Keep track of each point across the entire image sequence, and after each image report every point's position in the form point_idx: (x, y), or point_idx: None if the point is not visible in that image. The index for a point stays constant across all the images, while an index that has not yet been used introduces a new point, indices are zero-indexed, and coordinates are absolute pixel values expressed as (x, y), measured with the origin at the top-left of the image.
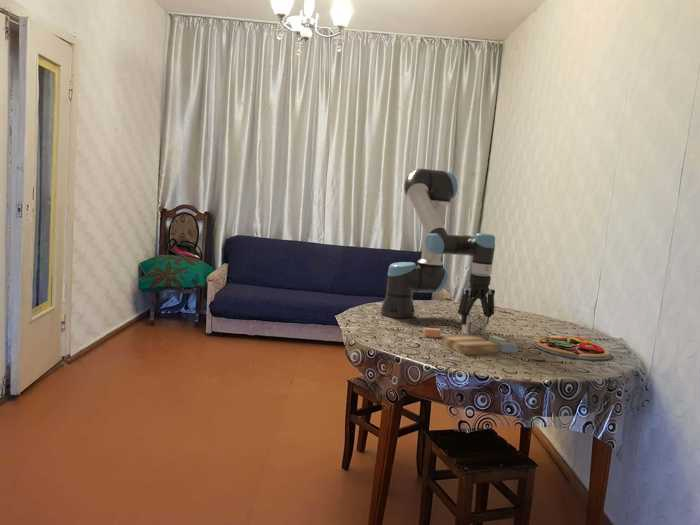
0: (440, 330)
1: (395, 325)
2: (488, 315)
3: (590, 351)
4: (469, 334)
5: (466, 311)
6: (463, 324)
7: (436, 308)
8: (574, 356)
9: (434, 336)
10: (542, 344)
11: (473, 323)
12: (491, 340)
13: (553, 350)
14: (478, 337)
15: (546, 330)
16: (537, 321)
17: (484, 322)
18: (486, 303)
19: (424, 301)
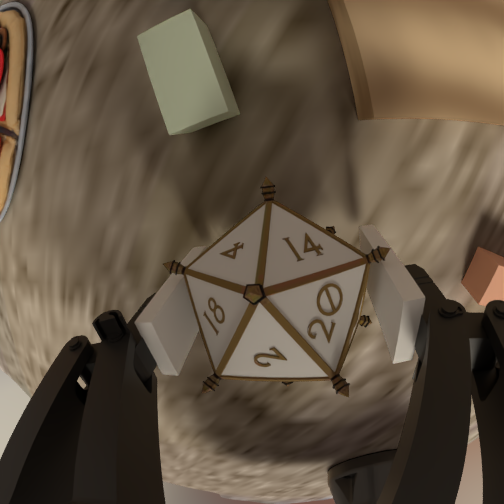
0: (499, 266)
1: None
2: (122, 331)
3: None
4: (333, 232)
5: (467, 349)
6: (416, 267)
7: (223, 485)
8: (11, 2)
9: (496, 255)
10: (10, 83)
11: (337, 250)
12: (225, 84)
13: (21, 23)
14: (369, 41)
15: (7, 330)
16: (33, 386)
17: (181, 299)
18: (91, 460)
19: (226, 497)
